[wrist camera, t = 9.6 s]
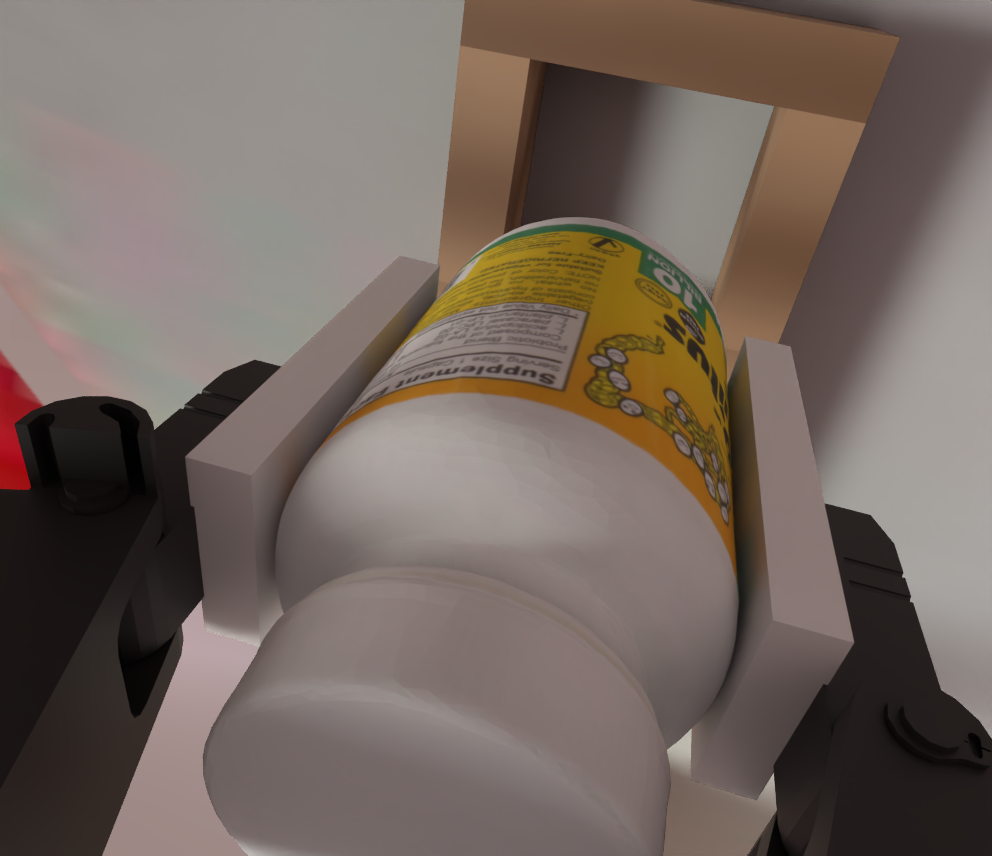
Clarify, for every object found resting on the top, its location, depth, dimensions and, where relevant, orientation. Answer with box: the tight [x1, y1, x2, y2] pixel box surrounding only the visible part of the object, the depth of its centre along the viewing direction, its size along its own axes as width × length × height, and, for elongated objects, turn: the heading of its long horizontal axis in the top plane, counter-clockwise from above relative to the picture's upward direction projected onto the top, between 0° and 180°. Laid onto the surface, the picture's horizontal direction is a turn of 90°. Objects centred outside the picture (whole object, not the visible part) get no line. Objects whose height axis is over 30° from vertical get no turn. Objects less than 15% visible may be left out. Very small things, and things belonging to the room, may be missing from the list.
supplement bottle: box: [203, 217, 740, 856], centre depth 10 cm, size 5×5×10 cm
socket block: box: [437, 0, 900, 384], centre depth 25 cm, size 18×11×3 cm, turn 171°
